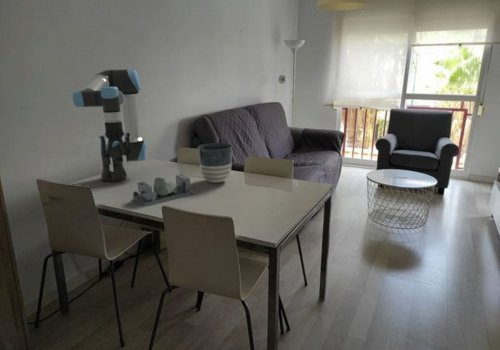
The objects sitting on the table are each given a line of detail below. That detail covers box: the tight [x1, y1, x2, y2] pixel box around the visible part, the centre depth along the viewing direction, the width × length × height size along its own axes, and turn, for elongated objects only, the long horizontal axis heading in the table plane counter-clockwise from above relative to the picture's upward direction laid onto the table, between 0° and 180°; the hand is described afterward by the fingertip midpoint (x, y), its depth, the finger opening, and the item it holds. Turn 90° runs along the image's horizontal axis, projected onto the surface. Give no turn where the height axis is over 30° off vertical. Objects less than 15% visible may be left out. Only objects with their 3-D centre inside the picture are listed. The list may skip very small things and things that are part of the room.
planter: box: [197, 142, 233, 184], centre depth 217 cm, size 20×20×21 cm
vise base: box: [132, 173, 195, 207], centre depth 194 cm, size 14×28×9 cm, turn 130°
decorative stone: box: [152, 176, 177, 196], centre depth 196 cm, size 13×11×10 cm
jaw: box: [132, 180, 153, 201], centre depth 186 cm, size 10×8×8 cm
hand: (118, 169), depth 177 cm, fingers open, 6 cm apart
